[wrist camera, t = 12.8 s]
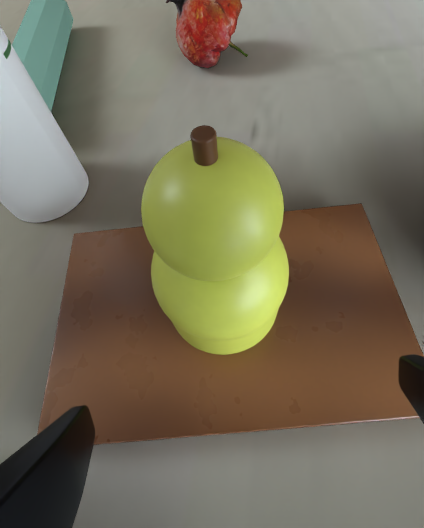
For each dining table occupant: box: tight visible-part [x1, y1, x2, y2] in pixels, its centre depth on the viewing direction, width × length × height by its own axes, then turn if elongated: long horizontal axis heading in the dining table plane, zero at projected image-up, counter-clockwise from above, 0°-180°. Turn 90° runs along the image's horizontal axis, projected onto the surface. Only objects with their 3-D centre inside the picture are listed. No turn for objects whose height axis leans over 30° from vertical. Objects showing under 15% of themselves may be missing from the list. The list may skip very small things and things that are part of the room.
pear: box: [141, 125, 289, 355], centre depth 13 cm, size 7×7×12 cm
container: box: [12, 0, 73, 111], centre depth 34 cm, size 6×6×25 cm
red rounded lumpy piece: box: [166, 0, 248, 68], centre depth 33 cm, size 7×7×10 cm
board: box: [37, 203, 424, 445], centre depth 19 cm, size 13×20×2 cm, turn 94°
